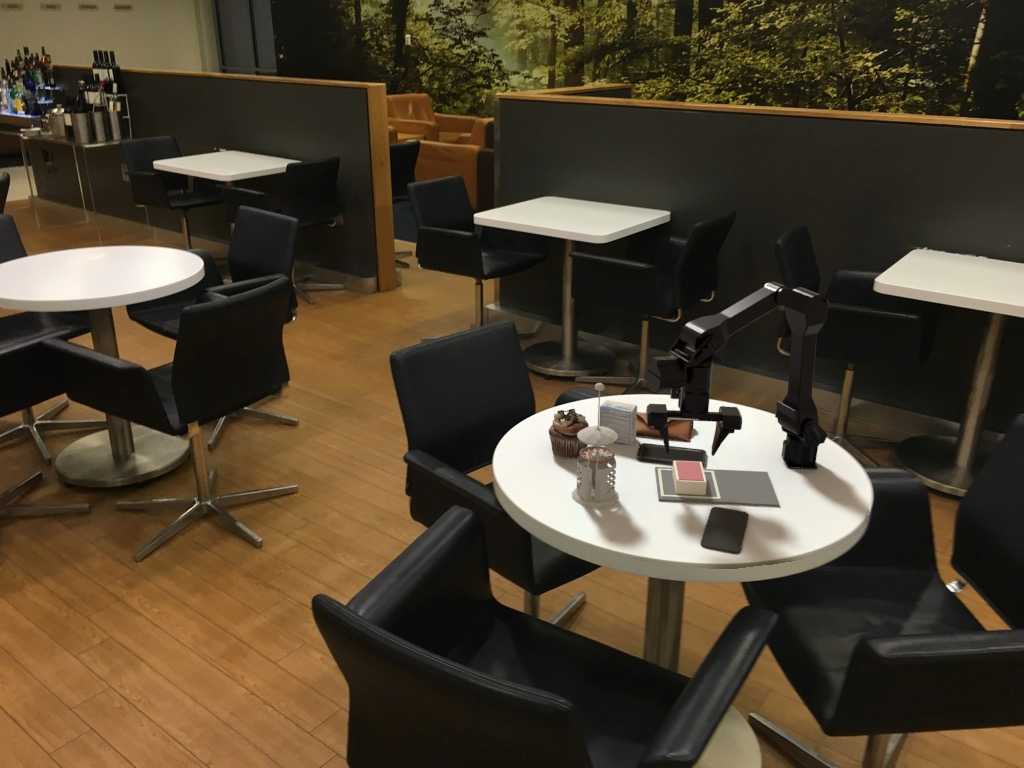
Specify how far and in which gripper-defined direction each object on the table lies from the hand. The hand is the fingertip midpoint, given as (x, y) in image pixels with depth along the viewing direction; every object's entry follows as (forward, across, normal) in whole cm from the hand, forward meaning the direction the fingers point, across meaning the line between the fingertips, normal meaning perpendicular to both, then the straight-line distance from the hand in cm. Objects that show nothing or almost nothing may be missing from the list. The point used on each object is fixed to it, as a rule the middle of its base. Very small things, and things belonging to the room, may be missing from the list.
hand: (690, 454), depth 175 cm
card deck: (+7, 0, 0) cm, 7 cm away
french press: (+8, +19, +7) cm, 22 cm away
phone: (+8, -6, +17) cm, 20 cm away
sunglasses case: (+8, +5, -26) cm, 28 cm away
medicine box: (+8, +14, -21) cm, 27 cm away
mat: (+7, -6, 0) cm, 9 cm away
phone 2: (+8, +2, -13) cm, 16 cm away
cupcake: (+8, +25, -14) cm, 30 cm away
